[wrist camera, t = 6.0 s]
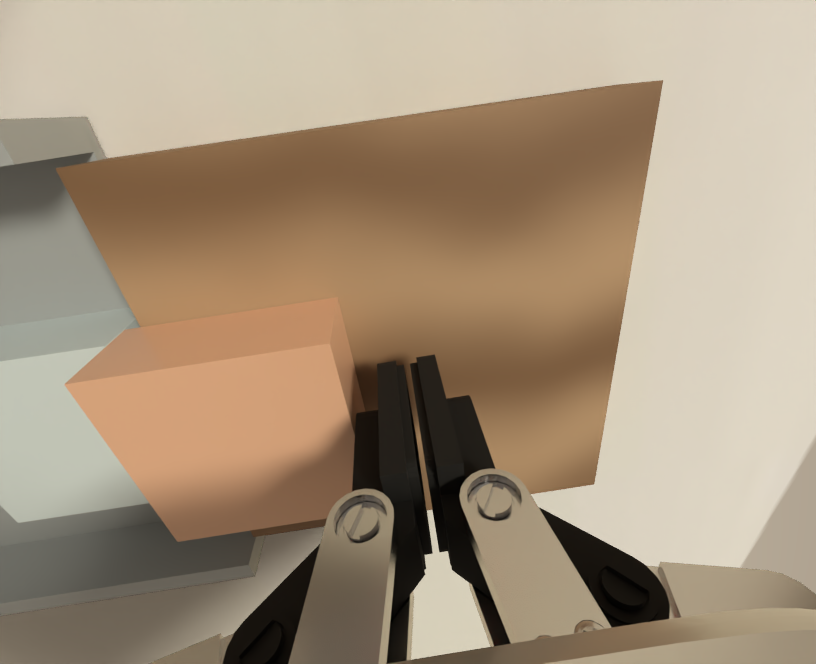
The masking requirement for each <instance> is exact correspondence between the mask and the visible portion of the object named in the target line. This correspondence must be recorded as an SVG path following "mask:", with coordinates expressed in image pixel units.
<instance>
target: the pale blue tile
mask: <svg viewBox="0 0 816 664" xmlns="http://www.w3.org/2000/svg"><path fill="white" fill-rule="evenodd" d="M139 327H140V325H139V323H138V321H137V320H136V318H135V316H134V314H133V312H132V310H131V308H130V307H129V308H122V309H116V310H109V311H102V312H95V313H88V314H82V315H75V316H68V317H61V318H54V319H47V320H41V321H34V322H27V323H20V324H13V325H7V326H0V506H1V507H2V508H3V509H4V510H5V511H6V512H8V513H9V514H10V515H11V516H12V517H13V518H14V519H15V520H16V521H17V522H18V523H21V522H28V521H34V520H41V519H48V518H54V517H61V516H67V515H74V514H81V513H87V512H94V511H100V510H107V509H114V508H120V507H127V506H134V505H140V504H147V503H149V502H148V500H147V499H146V498H145V496H144V495H143V493H142V492H141V491H140V489H139V488H138V486H137V485H136V484H135V482H134V481H133V479H132V478H131V477H130V475H129V474H128V473H127V471H126V470H125V468H124V467H123V466H122V464H121V463H120V461H119V460H118V459H117V457H116V456H115V455H114V453H113V452H112V450H111V449H110V448H109V446H108V445H107V443H106V442H105V441H104V439H103V438H102V436H101V435H100V434H99V432H98V431H97V430H96V428H95V427H94V425H93V424H92V423H91V421H90V420H89V418H88V417H87V416H86V414H85V413H84V411H83V410H82V409H81V407H80V406H79V405H78V403H77V402H76V400H75V399H74V398H73V396H72V395H71V393H70V392H69V391H68V389H67V388H66V386H65V385H64V384H65V383H66V382H67V381H68V380H70V379H71V378H72V377H73V376H74V375H75V374H76V373H77V372H78V371H79V370H81V369H82V368H83V367H84V366H85V365H86V364H87V363H88V362H89V361H91V360H92V359H93V358H94V357H95V356H96V355H97V354H98V353H99V352H100V351H102V350H103V349H104V348H105V347H106V346H107V345H108V344H109V343H111V342H112V341H113V340H114V339H115V338H116V337H117V336H118V335H119V334H121V333H122V332H123V331H124V330H126V329H132V328H139Z"/></svg>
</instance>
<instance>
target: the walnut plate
mask: <svg viewBox="0 0 816 664" xmlns="http://www.w3.org/2000/svg"><path fill="white" fill-rule="evenodd" d="M662 84H663V80H662V81H651V82H641V83H631V84H620V85H612V86H605V87H598V88H591V89H584V90H577V91H570V92H564V93H557V94H550V95H543V96H536V97H529V98H522V99H515V100H508V101H501V102H495V103H488V104H481V105H474V106H467V107H460V108H453V109H446V110H439V111H432V112H425V113H419V114H412V115H405V116H398V117H391V118H384V119H377V120H370V121H363V122H356V123H350V124H343V125H336V126H329V127H322V128H315V129H308V130H301V131H294V132H287V133H280V134H274V135H267V136H260V137H253V138H246V139H239V140H232V141H225V142H218V143H211V144H205V145H198V146H191V147H184V148H177V149H170V150H163V151H156V152H149V153H142V154H136V155H129V156H122V157H115V158H108V159H102V160H97V161H92V162H87V163H81V164H76V165H71V166H65V167H60V168H55V169H56V171H57V173H58V175H59V176H60V178H61V180H62V182H63V184H64V186H65V188H66V189H67V191H68V193H69V195H70V197H71V199H72V201H73V202H74V204H75V206H76V208H77V210H78V212H79V214H80V215H81V217H82V219H83V221H84V223H85V225H86V227H87V229H88V230H89V232H90V234H91V236H92V238H93V240H94V242H95V243H96V245H97V247H98V249H99V251H100V253H101V255H102V256H103V258H104V260H105V262H106V264H107V266H108V268H109V269H110V271H111V273H112V275H113V277H114V279H115V281H116V282H117V284H118V286H119V288H120V290H121V292H122V294H123V295H124V297H125V299H126V301H127V303H128V305H129V307H130V308H131V310H132V312H133V314H134V316H135V318H136V320H137V321H138V323H139V325H140V327H145V326H152V325H158V324H165V323H171V322H178V321H184V320H191V319H197V318H204V317H210V316H217V315H224V314H230V313H237V312H243V311H250V310H256V309H263V308H269V307H276V306H282V305H289V304H295V303H302V302H308V301H315V300H321V299H328V298H334V297H338V300H339V304H340V308H341V313H342V317H343V321H344V325H345V329H346V333H347V337H348V342H349V346H350V350H351V354H352V358H353V362H354V366H355V370H356V375H357V379H358V383H359V387H360V391H361V395H362V399H363V404H364V408H365V412H366V411H373V410H378V384H377V364H378V363H384V362H391V361H396V364H397V365H404V368H405V374H406V380H407V385H408V391H409V397H410V403H411V409H412V415H413V420H414V426H415V432H416V438H417V445H418V452H419V459H420V467H421V474H422V481H423V488H424V495H425V502H426V510H432V503H431V497H430V491H429V485H428V479H427V472H426V466H425V460H424V453H423V447H422V440H421V434H420V427H419V421H418V414H417V408H416V401H415V395H414V388H413V382H412V375H411V369H410V363H416V362H417V360H416V357H422V356H428V355H434V354H435V357H436V361H437V365H438V368H439V372H440V376H441V380H442V384H443V387H444V391H445V395H446V399H447V398H453V397H460V396H466V395H469V396H470V397H471V400H472V403H473V405H474V408H475V411H476V414H477V417H478V420H479V423H480V426H481V428H482V431H483V434H484V437H485V440H486V443H487V446H488V448H489V451H490V454H491V457H492V460H493V463H494V466H495V469H501V470H504V471H507V472H510V473H512V474H513V475H515V476H516V477H518V478H519V479H520V480H521V481H522V483H523V484H524V485H525V486H526V488H527V489H528V491H529V493H530V494H535V493H541V492H547V491H554V490H560V489H567V488H573V487H580V486H586V485H592V484H594V482H595V476H596V470H597V464H598V458H599V453H600V447H601V441H602V435H603V429H604V423H605V417H606V412H607V406H608V400H609V394H610V388H611V382H612V376H613V371H614V365H615V359H616V353H617V347H618V341H619V335H620V330H621V324H622V318H623V312H624V306H625V300H626V294H627V289H628V283H629V277H630V271H631V265H632V259H633V253H634V248H635V242H636V236H637V230H638V224H639V218H640V212H641V207H642V201H643V195H644V189H645V183H646V177H647V171H648V166H649V160H650V154H651V148H652V142H653V136H654V130H655V125H656V119H657V113H658V107H659V101H660V95H661V89H662ZM326 520H327V518H326V519H320V520H313V521H307V522H301V523H294V524H288V525H282V526H276V527H269V528H263V529H257V530H250V531H251V533H252V535H253V537H258V536H264V535H271V534H277V533H284V532H290V531H297V530H303V529H309V528H316V527H322V526H325V524H326Z"/></svg>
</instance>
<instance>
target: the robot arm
mask: <svg viewBox="0 0 816 664" xmlns="http://www.w3.org/2000/svg"><path fill="white" fill-rule="evenodd" d="M416 360H417V362H416V363H410V369H411V375H412V382H413V388H414V395H415V401H416V408H417V414H418V421H419V427H420V434H421V440H422V447H423V453H424V460H425V466H426V472H427V479H428V485H429V491H430V497H431V503H432V509H433V515H434V521H435V527H436V534H437V540H438V546H439V552H444V551H448V553H449V559H450V564H451V566H452V570H453V571H454V572H456V573H457V574H458V575H460V576H461V577H462V578H464V579H465V580H466V581H468V582H469V586H470V590H471V593H472V596H473V599H474V601H475V604H476V607H477V610H478V613H479V616H480V618H481V621H482V624H483V627H484V630H485V632H486V635H487V638H488V641H489V644H490V646H491V647H487V648H481V649H475V650H469V651H463V652H457V653H450V654H444V655H438V656H432V657H426V658H420V659H414V660H411V649H412V629H413V608H414V594H413V590H414V589H415V587H416V586H417V585H418V583H419V582H420V580H421V579H422V578H423V576H424V575H425V572H424V569H426V565H425V557H424V555H426V554H432V545H431V538H430V531H429V524H428V517H427V510H426V502H425V495H424V488H423V481H422V474H421V467H420V459H419V452H418V445H417V438H416V432H415V426H414V420H413V415H412V409H411V403H410V397H409V391H408V385H407V380H406V374H405V368H404V365H397V364H396V361H391V362H384V363H378V364H377V384H378V410H373V411H366V412H360V413H357V414H356V422H355V443H354V463H353V483H352V492H350V493H348V494H346V495H345V496H343V497H342V498H341V499H339V500H338V501H337V502H336V504H335V505H334V506H333V507H332V509H331V510H330V513H329V515H328V517H327V520H326V524H325V528H324V531H323V535H322V539H321V543H320V544H319V545H318V547H317V548H316V549H315V550H314V551H313V552H312V553H311V554H310V555H309V556H308V557H307V558H306V559H305V560H304V561H303V562H302V563H301V564H300V565H299V566H298V567H297V568H296V569H295V570H294V571H293V572H292V573H291V574H290V575H289V576H288V577H287V578H286V579H285V580H284V581H283V582H282V583H281V584H280V585H279V586H278V587H277V588H276V589H275V590H274V591H273V592H272V593H271V594H270V595H269V596H268V597H267V598H266V599H265V600H264V601H263V602H262V603H261V604H260V605H259V606H258V607H257V608H256V609H255V610H254V611H253V613H252V614H251V615H250V616H249V617H248V618H247V619H246V620H245V621H244V622H243V623H242V624H241V626H240V627H239V628H238V629H237V631H236V632H235V633H234V634H231V635H229V636H227V637H223V636H222V635H221V634H218V635H216V636H213V637H211V638H209V639H206V640H204V641H201V642H199V643H197V644H194V645H192V646H190V647H187V648H185V649H182V650H180V651H178V652H175V653H173V654H170V655H168V656H166V657H163V658H161V659H158V660H156V661H154V662H151V663H149V664H816V594H815V593H814V592H812V591H811V590H810V589H808V588H807V587H806V586H804V585H803V584H802V583H800V582H799V581H797V580H795V579H792V578H790V577H788V576H786V575H784V574H782V573H777V572H772V571H769V570H760V569H747V568H734V567H721V566H708V565H695V564H681V563H668V562H660V564H659V567H655V566H646V565H644V564H643V563H641V562H640V561H638V560H637V559H635V558H634V557H632V556H630V555H628V554H626V553H624V552H623V551H621V550H619V549H617V548H615V547H613V546H611V545H609V544H607V543H606V542H604V541H602V540H600V539H598V538H596V537H594V536H592V535H590V534H588V533H587V532H585V531H583V530H581V529H579V528H577V527H575V526H573V525H571V524H570V523H568V522H566V521H564V520H562V519H560V518H558V517H556V516H554V515H552V514H551V513H549V512H547V511H545V510H543V509H541V508H539V507H538V506H537V504H536V502H535V501H534V499H533V497H532V496H531V494H530V493H529V491H528V489H527V488H526V486H525V485H524V484H523V483H522V481H521V480H520V479H519V478H518V477H516V476H515V475H513V474H512V473H510V472H507V471H504V470H501V469H495V466H494V463H493V460H492V457H491V454H490V451H489V448H488V446H487V443H486V440H485V437H484V434H483V431H482V428H481V426H480V423H479V420H478V417H477V414H476V411H475V408H474V405H473V403H472V400H471V397H470V396H469V395H466V396H460V397H453V398H447V399H446V395H445V391H444V387H443V384H442V380H441V376H440V372H439V368H438V365H437V361H436V357H435V354H434V355H428V356H422V357H416Z"/></svg>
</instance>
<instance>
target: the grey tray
mask: <svg viewBox="0 0 816 664" xmlns="http://www.w3.org/2000/svg"><path fill="white" fill-rule="evenodd" d="M102 159H107V158H106V156H105V154H104V152H103V150H102V148H101V146H100V144H99V141H98V139H97V137H96V135H95V133H94V131H93V129H92V127H91V124H90V122H89V120H88V118H87V117H64V118H29V119H0V326H7V325H13V324H20V323H27V322H34V321H41V320H47V319H54V318H61V317H68V316H75V315H82V314H88V313H95V312H102V311H109V310H116V309H122V308H129V305H128V303H127V301H126V299H125V297H124V295H123V294H122V292H121V290H120V288H119V286H118V284H117V282H116V281H115V279H114V277H113V275H112V273H111V271H110V269H109V268H108V266H107V264H106V262H105V260H104V258H103V256H102V255H101V253H100V251H99V249H98V247H97V245H96V243H95V242H94V240H93V238H92V236H91V234H90V232H89V230H88V229H87V227H86V225H85V223H84V221H83V219H82V217H81V215H80V214H79V212H78V210H77V208H76V206H75V204H74V202H73V201H72V199H71V197H70V195H69V193H68V191H67V189H66V188H65V186H64V184H63V182H62V180H61V178H60V176H59V175H58V173H57V171H56V169H55V168H60V167H65V166H71V165H76V164H81V163H87V162H92V161H97V160H102ZM264 538H265V535H264V536H258V537H253V535H252V533H251V531H244V532H238V533H231V534H225V535H219V536H212V537H206V538H200V539H193V540H187V541H181V542H177V541H176V539H175V538H174V536H173V535H172V534H171V532H170V531H169V529H168V528H167V527H166V525H165V524H164V523H163V521H162V520H161V518H160V517H159V516H158V514H157V513H156V511H155V510H154V509H153V507H152V506H151V504H150V503H147V504H140V505H134V506H127V507H120V508H114V509H107V510H100V511H94V512H87V513H81V514H74V515H67V516H61V517H54V518H48V519H41V520H34V521H28V522H21V523H18V522H17V521H16V520H15V519H14V518H13V517H12V516H11V515H10V514H9V513H8V512H6V511H5V510H4V509H3V508H2V507H1V506H0V616H4V615H11V614H17V613H23V612H30V611H36V610H43V609H49V608H55V607H62V606H68V605H74V604H81V603H87V602H94V601H100V600H106V599H113V598H119V597H126V596H132V595H138V594H145V593H151V592H157V591H164V590H170V589H177V588H183V587H189V586H196V585H202V584H209V583H215V582H221V581H228V580H234V579H241V578H247V577H253V576H255V575H256V571H257V567H258V563H259V559H260V555H261V551H262V547H263V543H264Z"/></svg>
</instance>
